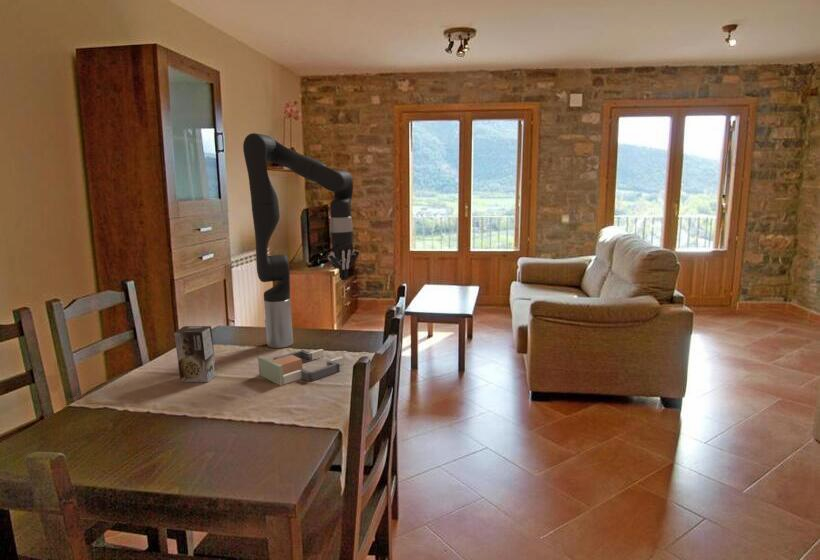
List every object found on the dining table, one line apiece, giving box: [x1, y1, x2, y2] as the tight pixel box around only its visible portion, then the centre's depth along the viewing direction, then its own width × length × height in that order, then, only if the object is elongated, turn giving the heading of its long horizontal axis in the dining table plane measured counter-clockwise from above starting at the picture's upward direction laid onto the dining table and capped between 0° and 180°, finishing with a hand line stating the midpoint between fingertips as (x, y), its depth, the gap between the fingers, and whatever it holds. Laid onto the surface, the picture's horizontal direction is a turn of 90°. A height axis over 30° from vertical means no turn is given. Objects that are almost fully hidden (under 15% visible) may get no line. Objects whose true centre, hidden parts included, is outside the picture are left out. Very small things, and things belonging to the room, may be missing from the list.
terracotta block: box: [270, 355, 303, 375], centre depth 168 cm, size 6×8×4 cm
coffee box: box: [173, 325, 217, 383], centre depth 164 cm, size 9×6×16 cm
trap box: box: [257, 348, 345, 387], centre depth 170 cm, size 20×24×6 cm
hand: (344, 279), depth 185 cm, fingers closed
